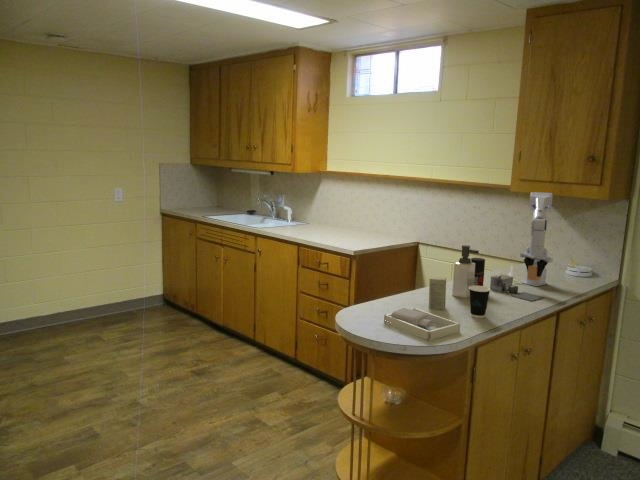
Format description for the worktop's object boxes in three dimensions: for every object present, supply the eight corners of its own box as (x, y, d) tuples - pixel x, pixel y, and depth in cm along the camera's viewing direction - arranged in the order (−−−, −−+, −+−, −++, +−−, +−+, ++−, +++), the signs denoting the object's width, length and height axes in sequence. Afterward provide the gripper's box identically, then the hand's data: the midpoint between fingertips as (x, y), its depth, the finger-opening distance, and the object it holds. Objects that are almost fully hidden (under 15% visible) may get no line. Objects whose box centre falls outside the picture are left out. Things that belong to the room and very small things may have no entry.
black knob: (511, 291, 236) (512, 284, 236) (519, 293, 233) (520, 286, 233) (506, 292, 234) (506, 285, 234) (514, 294, 231) (514, 287, 230)
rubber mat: (523, 292, 234) (523, 291, 234) (544, 298, 226) (544, 297, 226) (510, 296, 228) (510, 295, 228) (531, 301, 220) (531, 300, 220)
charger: (427, 335, 178) (390, 325, 187) (440, 328, 184) (404, 319, 194) (428, 322, 177) (391, 312, 186) (441, 315, 184) (405, 307, 193)
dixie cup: (471, 319, 195) (473, 291, 193) (463, 312, 202) (465, 285, 201) (491, 319, 195) (494, 290, 194) (483, 312, 203) (485, 285, 201)
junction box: (500, 286, 244) (501, 272, 243) (513, 289, 238) (514, 275, 237) (488, 289, 239) (489, 275, 238) (501, 292, 233) (502, 278, 232)
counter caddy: (414, 315, 198) (414, 307, 198) (459, 331, 181) (460, 323, 180) (383, 322, 189) (384, 314, 188) (429, 340, 172) (429, 332, 171)
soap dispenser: (470, 299, 221) (474, 248, 218) (452, 295, 227) (455, 245, 224) (478, 296, 226) (481, 246, 222) (459, 292, 232) (462, 244, 228)
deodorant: (481, 290, 237) (483, 257, 234) (483, 293, 231) (486, 260, 228) (467, 289, 237) (470, 257, 235) (470, 293, 231) (472, 260, 229)
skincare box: (445, 307, 210) (447, 277, 208) (444, 310, 206) (446, 280, 204) (429, 305, 212) (430, 276, 210) (427, 308, 208) (429, 278, 206)
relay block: (532, 277, 236) (533, 264, 235) (540, 279, 233) (541, 266, 232) (527, 278, 234) (528, 265, 233) (535, 280, 231) (536, 267, 230)
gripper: (517, 243, 234) (514, 273, 237) (547, 249, 223) (544, 280, 225) (526, 242, 238) (523, 271, 241) (556, 247, 227) (553, 277, 229)
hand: (534, 275), depth 233 cm, fingers closed on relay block, 4 cm apart
